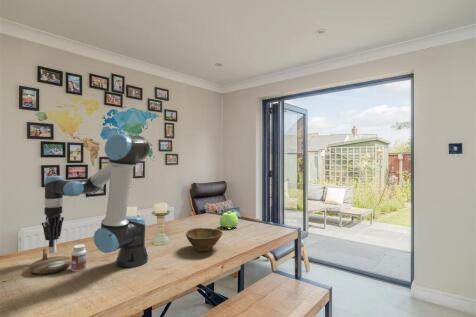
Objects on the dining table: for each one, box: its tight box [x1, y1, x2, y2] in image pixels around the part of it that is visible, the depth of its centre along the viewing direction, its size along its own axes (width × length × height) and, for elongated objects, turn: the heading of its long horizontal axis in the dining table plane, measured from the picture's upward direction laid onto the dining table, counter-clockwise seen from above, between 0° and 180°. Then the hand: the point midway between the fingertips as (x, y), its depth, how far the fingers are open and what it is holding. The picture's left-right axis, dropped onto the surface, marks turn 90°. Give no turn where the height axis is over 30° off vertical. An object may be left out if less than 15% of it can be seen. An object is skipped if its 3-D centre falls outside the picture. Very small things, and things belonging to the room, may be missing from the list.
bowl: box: [185, 227, 224, 252], centre depth 158 cm, size 22×23×10 cm
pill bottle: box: [70, 243, 87, 272], centre depth 127 cm, size 6×6×11 cm
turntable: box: [29, 248, 71, 275], centre depth 127 cm, size 16×16×7 cm
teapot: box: [219, 210, 239, 229], centre depth 208 cm, size 20×13×13 cm
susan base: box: [42, 269, 64, 275], centre depth 127 cm, size 12×12×1 cm
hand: (52, 252), depth 135 cm, fingers closed
